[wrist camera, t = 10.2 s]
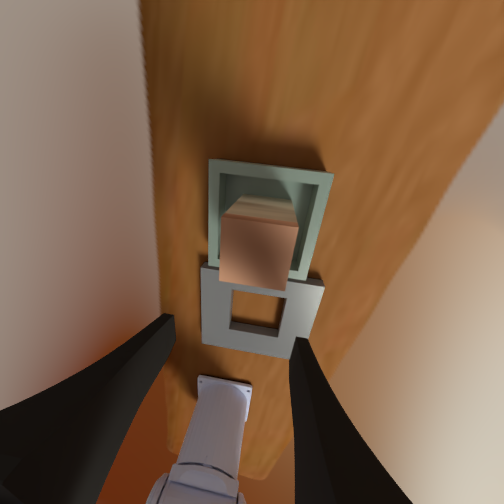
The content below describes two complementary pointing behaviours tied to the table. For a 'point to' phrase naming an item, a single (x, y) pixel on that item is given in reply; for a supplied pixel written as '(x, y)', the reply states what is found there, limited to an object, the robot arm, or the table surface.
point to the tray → (269, 185)
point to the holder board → (251, 336)
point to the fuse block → (258, 242)
